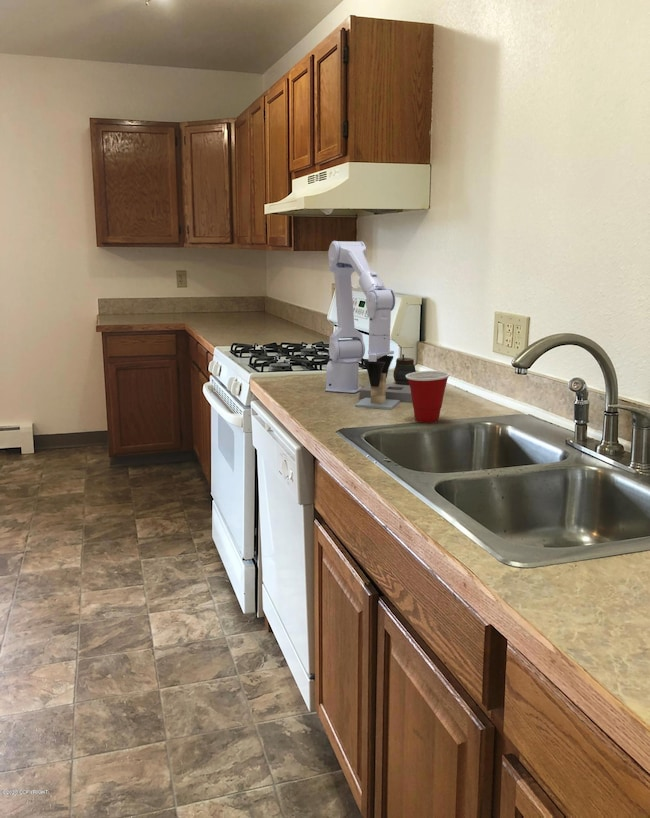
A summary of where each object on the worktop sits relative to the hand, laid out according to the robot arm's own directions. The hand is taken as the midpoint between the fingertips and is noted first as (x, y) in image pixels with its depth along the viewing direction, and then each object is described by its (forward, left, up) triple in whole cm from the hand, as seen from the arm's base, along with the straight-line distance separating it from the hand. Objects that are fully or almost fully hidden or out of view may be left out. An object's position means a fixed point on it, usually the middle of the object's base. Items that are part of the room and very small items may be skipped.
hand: (378, 384), depth 196 cm
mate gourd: (0, +34, -6) cm, 35 cm away
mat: (0, 0, -6) cm, 6 cm away
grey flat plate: (+2, +12, -6) cm, 13 cm away
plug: (0, 0, -5) cm, 5 cm away
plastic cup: (+16, -14, -6) cm, 22 cm away
